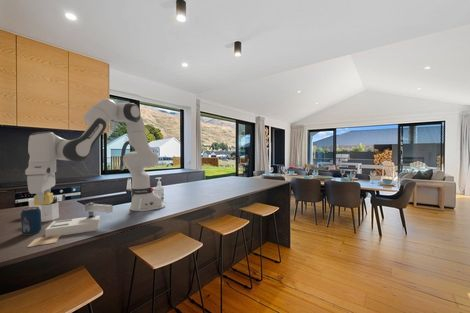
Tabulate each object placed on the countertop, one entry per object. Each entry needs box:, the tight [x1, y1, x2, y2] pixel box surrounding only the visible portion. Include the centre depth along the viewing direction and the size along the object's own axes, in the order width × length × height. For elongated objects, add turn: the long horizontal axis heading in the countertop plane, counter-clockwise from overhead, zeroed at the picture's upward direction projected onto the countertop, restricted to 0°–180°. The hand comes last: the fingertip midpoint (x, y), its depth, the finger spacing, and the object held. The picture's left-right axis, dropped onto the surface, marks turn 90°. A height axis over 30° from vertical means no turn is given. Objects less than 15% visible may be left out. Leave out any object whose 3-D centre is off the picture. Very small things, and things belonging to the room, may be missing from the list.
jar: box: [38, 196, 60, 223], centre depth 119 cm, size 9×8×12 cm
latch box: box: [44, 215, 101, 237], centre depth 104 cm, size 20×12×5 cm, turn 118°
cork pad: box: [27, 235, 61, 248], centre depth 91 cm, size 9×9×1 cm
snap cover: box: [33, 191, 54, 206], centre depth 90 cm, size 5×5×5 cm
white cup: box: [28, 197, 38, 208], centre depth 128 cm, size 8×8×10 cm
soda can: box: [20, 206, 42, 236], centre depth 100 cm, size 7×7×12 cm
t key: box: [84, 202, 114, 217], centre depth 110 cm, size 3×15×7 cm, turn 78°
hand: (44, 200), depth 90 cm, fingers closed on snap cover, 5 cm apart
